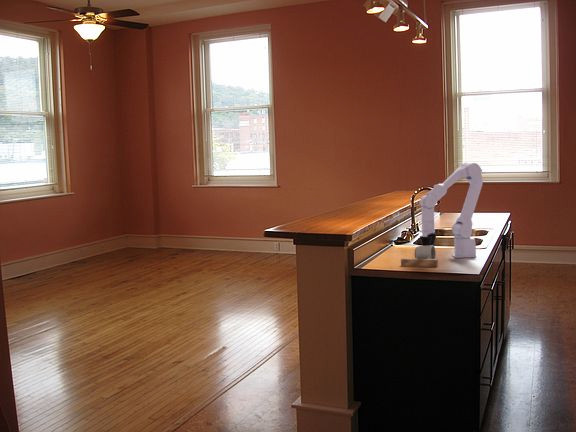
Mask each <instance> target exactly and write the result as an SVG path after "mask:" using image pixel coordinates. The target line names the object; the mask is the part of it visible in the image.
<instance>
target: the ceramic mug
mask: <svg viewBox="0 0 576 432" xmlns="http://www.w3.org/2000/svg"><path fill="white" fill-rule="evenodd" d="M436 255H437V253H436V248H435V245H434V246H433V245H428V246H423V245H419V246H416V247H415V248H414V259H436Z"/></svg>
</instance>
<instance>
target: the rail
mask: <svg viewBox="0 0 576 432" xmlns="http://www.w3.org/2000/svg"><path fill="white" fill-rule="evenodd" d="M400 266H403V267H426V268H427V267H429V268H431V267H432V268H435V267H436V268H437V267H439V260H438V258H437V259H436V258H435V259H415V258H405V257H404V258H403V257H402V258H401V259H400Z"/></svg>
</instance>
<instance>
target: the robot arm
mask: <svg viewBox="0 0 576 432" xmlns="http://www.w3.org/2000/svg"><path fill="white" fill-rule="evenodd" d="M482 172H483V169H482V167H481V166H480V165H479V164H478V163H476V162H472V163H471V162H470V163H469V162H463V163H462V164H461V165H460V166H459V167H457V168H456V169H455V170H454V171H453V172H452V173H451V174H450V175H449V176H448V177H447V178H446V180H445V179H444V181H443V182H442V183H438V184H434V185H433V188H432V189H430V190H429V192H428V191H427V192H426V193H425V195H423V196H421V197H420V200H419V201H418V203H419V204H418V205H420V206H421V207H420V208H421V229H420V230H419V233H421V234H422V235H420V236H419V239H420V241H421V243H422V246H428V245H433V246H434V247H435V241H436V238H437V235H438V233H436V230H435V229H436V228H435V206H436V204H437V203H438V201H439V200H440V199H442V198H443V197H444V196H445V195H446V194H447V193H448V189H449V188H450V187H451V186H452V185H454V184H455V183H456V182H458V181H459V180H460V179H464V178H465V179H466V181H468V183H469V187H468V189H467V194H466V196H465V200H464V202H463V206H462V209H461V212H460V216H459V217H457V219H456V221H455V223H454V224H453V225H452V227H451V232H452V234H453V235H454V236H453V240H454V241H453V244H454V245H453V246H454V253H453V254H451V256H452V257H454V258H456V259H459V258H463V259H464V258H477V252H476V251H477V247H476V239H475V238H474V237H471V236H472V234H473V228H472V227H473V221H472V218H473V215H474V212H475V210H476V207H477V204H478V200H479V196H480V194H481V190H482V188H483V183H484V182H483V181H484V180H483V175H482Z"/></svg>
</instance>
